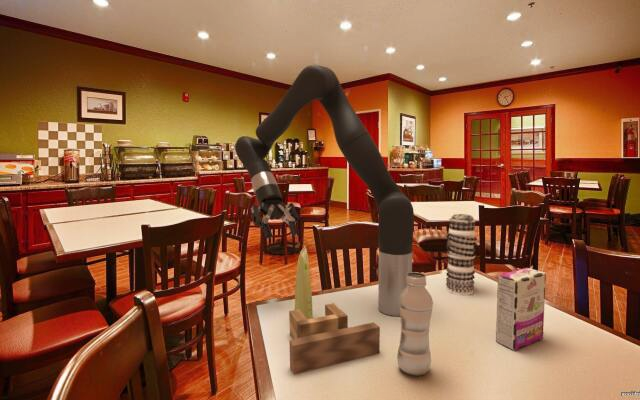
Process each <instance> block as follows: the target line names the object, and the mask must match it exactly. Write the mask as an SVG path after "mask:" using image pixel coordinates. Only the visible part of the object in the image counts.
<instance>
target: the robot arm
mask: <svg viewBox="0 0 640 400" xmlns="http://www.w3.org/2000/svg"><path fill="white" fill-rule="evenodd" d="M313 101H318V102H319V103H320V105H321V106H322V107H323V109H324V111H326V113H327V115H328V117H329V119H330V121H331V124H332V127H333V134H334V139H335V142H336V144H337V147H338V148H339V150H340V152H341V154H342V155H343V157H344V159H345V160H346V162H347V163H348V164H349V166H350V167H351V168H352V170H353V171H354V172H355V174H356V175H357V176H358V177H359V178H360V179H361V181H362V182H363V183H364V184H365V185H366V187H367V188H368V190H369V192H370V193H371V194H372V196H373V198H374V199H373V200H374V201H375V203H376V206H377V207H378V290H377V291H378V297H377V299H378V300H377V302H378V306H377V307H378V310H379V311H380V312H381V313H383V314H385V315H388V316H393V317H394V316H395V317H401V315H400V306H399V298H400V295H401V293H402V292H403V290H404V289H405V288H406V287H407V284H406V275H407V273H411V272H413V245H414V244H413V243H414V224H415V223H414V219H415V218H414V217H415V216H414V215H415V212H414V206H413V204H412V202H411V201H410V199H409V198H408V197H407V195H406V194H405V193H404V192H403V191H402V189H401V187H399V185H398V184H397V182H396V181H395V179H394V178H393V176H392V175H391V173H390V171H389V170H388V167H387V164H386V163H385V160H384V158H383V156H382V154H381V152H380V150H379V149H378V147H377V145H376V144H377V143H375V141H374V139H373V137H372V136H371V135H370V132H369V131H368V129H367V128H366V127H365V125H364V123H363V122H362V120H361V119H360V117H359V116H358V114H357V112H356V111H355V109H354V108H353V107H352V105H351V104H350V101H349V100H348V97H347V96H346V93H345V92H344V89H343V87H342V85H341V82H340V81H339V79H338V76H337V74H336V73H335V72H334V71H333V70H332V69H331V68H329V67H328V66H324V65H323V66H322V65H319V64H310V65H307V66H306V67H304V68H303V69H302V70H301V71H300V72H299V74H298V75H297V77H296V78H295V80H294V81H293V83H292V84H291V86H290V87H289V89H288V90H287V92H286V93H285V95H284V96H283V97H282V99H281V100H280V102H278V104H277V105H276V106H275V108H273V110H271V112H270V113H269V114H268V115H267V116H266V117H265V118H264V119H263V120H262V121H261V123H260V124H258V125H257V127H256V128H255V136H256V137H257V138H254V137H251V136H248V135H242V136H241V137H239V138H237V140H236V142H235V144H234V145H235V147H234V149H235V153H236V156H237V158H238V159H239V161H240V162H241V164H242V165H243V166H244V168H245V169H246V170H247V172H248V176H249V178H250V182H251V187H252V190H253V193H254V196H255V199H256V201H257V204H253V205H252V207H251V208H250V210H249V211H250V214H251V218H252V221H253V226H255V227H260V228H261V230H262V232H263V235H264V237H265V238H266V239H269V240H270V239H271V238H272V236H273V233H272V230H271V227H270V225H269V223H268V222H269V220H270V221H274V220H280V221H282V222H285V223H286V224H287V225H288V229H289V231H290V234H291V236H292V237H295V236H296V235H297V234H298V232H299V230H298V228H297V227H298V226H297V225H296V223H297V222H298V221H299V220H300V216H299V213H298V212H297V209H296V208H295V205H294V203H293V202H290V203H289V204H285V203H284V201H283V196H282V193H281V190H280V187H279V185H278V183H277V180H276V177H275V176H274V174H273V172H272V168H271V166H270V163H269V162H268V161H267V160H266V157H267V156H268V154H269V152H270V151H271V149H272V147H273V146H274V144H275V142H276V141H277V140H278V139H279V138H280V137H281V136H282V135H283V134H285V132H286V131H287V130H288V129H289V127H290V125H292V122H293V121H294V119H295V117H296V116H297V114H298V113H299V112H300V111H301V110H302V109H303V108H304V107H306V105H308V104H309V103H311V102H313ZM260 213H262V215H263V217H262V218H261V214H260ZM284 215H285V216H284Z"/></svg>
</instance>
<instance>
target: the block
mask: <svg viewBox="0 0 640 400" xmlns="http://www.w3.org/2000/svg"><path fill="white" fill-rule="evenodd" d="M288 312H289V313H288V314H289V319H288V320H289V335H290V337H291V340H292V339H296V338H301V337H306V336H311V335H316V334H320V333H325V332H330V331H335V330H339V329H344V328H349V327H348V325H349V322H348V321H349V316H348V315H347V313H345V311H343V310H342V309H341V308H340V307H339V306H338V305H336V304H335V303H327V304H324V316H319V317H314V318H313V317H312V319H306V317H305V316H304V315H303V314H302V312H301V311H300V310H299V309H298V310H295V309H293V310H289V311H288Z"/></svg>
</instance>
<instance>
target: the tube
mask: <svg viewBox="0 0 640 400" xmlns="http://www.w3.org/2000/svg"><path fill="white" fill-rule="evenodd" d="M310 270H311V269H310V261H309V254H308V250H307V245H304V246H303V248H302V249H301V251H300V253H299V256H298V260H297V266H296V275H295V287H294V288H295V290H294V310H298V309H299V310H300V311H301V312H302V314H303V315H304V316H305V317H306V319H313V296H312V295H313V293H312V280H311V271H310Z"/></svg>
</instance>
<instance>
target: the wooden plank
mask: <svg viewBox="0 0 640 400" xmlns="http://www.w3.org/2000/svg"><path fill="white" fill-rule="evenodd" d="M380 329H381V328H380V326H379V325H378V324H377V323H375V322H369V323H365V324H363V323H362V324H359V325H354V326H350V327H348V328H344V329H339V330H335V331H330V332H325V333H320V334H316V335H311V336H306V337H301V338H296V339H292V338H291V339H289V342H288V343H289V369H290V370H291V372H292V373H293V375H296V374H301V373H304V372H308V371H312V370H316V369H320V368H324V367H327V366H332V365H336V364H340V363H344V362H348V361H352V360H356V359H360V358H363V357H364V358H365V357H369V356H372V355H376V354H380V352H381V351H380V342H381V340H380V337H381V336H380V333H381V330H380Z"/></svg>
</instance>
